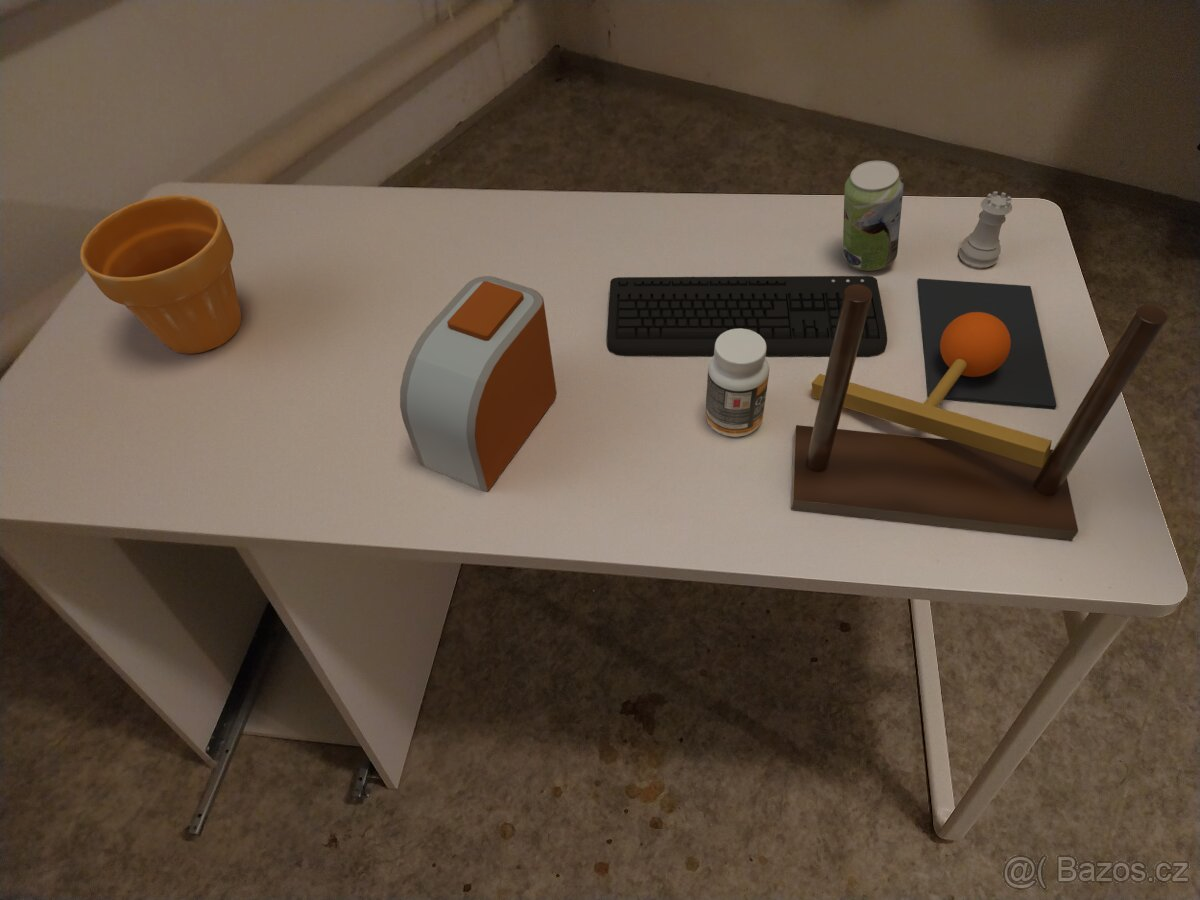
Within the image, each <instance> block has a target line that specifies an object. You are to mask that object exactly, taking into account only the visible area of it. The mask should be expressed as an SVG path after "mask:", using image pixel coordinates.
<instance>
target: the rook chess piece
mask: <svg viewBox="0 0 1200 900" xmlns="http://www.w3.org/2000/svg"><path fill="white" fill-rule="evenodd" d="M998 194H999V193H998V191H992V194H991V193H990V192H989V193H988V194H987V195H986V197H985V198H983V199H982V200H981V202H980V207H981V209H982V211H980V213H979V214H978V222H977V223H976V225H975V228H974V229H973V231H972V232H971V233H969V234H968V236H966V237H965V238H964V239H963V240H962V242H961V246H959V248H958V256H959V258H960V260H961V262H962V263H964V264H965V265H967V266H968V267H972V268H975V269H986V268H989V267H992V266H993V265H995V264H996V263H997V262H998V261H999V259H1000V255H1001V249H1002V247H1001V244H1000V242H1001V240H1000V233H1001V229H1002V226H1003V224H1004V223H1005V222H1006V218H1007V217H1006V215H1008V214H1010V213H1011V212H1012V211H1013V204H1012V197H1011V196H1010V195H1008V196H1007V193H1006V192H1004V191H1003V192H1001V194H1000V195H998Z"/></svg>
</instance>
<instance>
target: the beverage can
mask: <svg viewBox="0 0 1200 900" xmlns="http://www.w3.org/2000/svg"><path fill="white" fill-rule="evenodd" d="M904 185H905V184H904V179H903V177H902V176H901V174H900V171H899V169H898V167H897V166H896V165H895V164H894V163H892V162H889V161H885V160H879V159H878V160H868V161H865V162H862V163H860V164H858V165H856V166H855V167H854V168H853V169H852V170H851V172H850V175H849V177H848V178H847V179H846V181H845V184H844V193H843V195H844V196H843V226H842V229H843V230H842V231H843V232H842V235H843V236H842V258H843V260H844V262H845V263H846V264H847V265H848V266H849V267H852V268H854V269H856V270H860V271H865V272H866V271H867V272H869V271H877V270H878V271H879V270H881V269H885V268H886V267H888V266H890V265H891V264H892V263H893V262H894V261H895V260H896V258H897V256H898V248H899V240H900V239H899V238H900V229H901V218H902V208H903V206H902V205H903V199H904V187H905V186H904Z"/></svg>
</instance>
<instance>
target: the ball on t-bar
mask: <svg viewBox="0 0 1200 900" xmlns="http://www.w3.org/2000/svg"><path fill="white" fill-rule="evenodd" d="M1010 347H1011V339H1010V334H1009V332H1008V329H1007V328H1006V326H1005V325H1004V323H1003V322H1002V321H1001V320H999V319H998V318H997V317H995V316H993V315H991V314H988V313H983V312H971V313H967V314H963V315H961V316H959V317H957V318H956V319H954V320H953V321H952V322H951V323H950V324H949V325H948V326H947V327H946V329H945V330H944V332H943V334H942V337H941V342H940V351H941V355H942V358H943V360H944V362H945V363H946V364H947V366H948V367H949V370H948V371H947V372H946V374H945V375H944V377H943V378H942V379H941V381H940V382H939V383H938V385H937V386H936V387H935V389H934V390H933V391H932V393H931V394H930V396H929V397H928V396H927V398H926V399H925V401H924V402H920V401H917V400H912V399H909V398H905V397H902V396H898V395H895V394H892V393H890V392H889V393H888V392H886V391H881V390H878V389H874V388H871V387H867V386H865V385H860V384H857V383H853V382H851V381H850V382H849V386H848V390H847V394H846V397H845V401H844V405H843V408H846V409H849V410H852V411H855V412H858V413H862V414H865V415H868V416H871V417H875V418H878V419H881V420H884V421H887V422H891V423H894V424H897V425H901V426H904V427H907V428H911V429H913V430H916V431H920V432H924V433H927V434H930V435H933V436H936V437H939V438H941V439H947V440H952V441H955V442H959V443H962V444H965V445H968V446H972V447H975V448H978V449H981V450H985V451H988V452H991V453H994V454H997V455H1001V456H1004V457H1007V458H1010V459H1014V460H1017V461H1020V462H1023V463H1027V464H1030V465H1033V466H1036V467H1040V468H1042V467H1043V466H1044V464H1045V463H1046V461H1047V459H1048V458H1049V454H1050V449H1052V442H1053V441H1052V440H1051V439H1048V438H1045V437H1041V436H1039V435H1034V434H1032V433H1028V432H1024V431H1020V430H1017V429H1013V428H1010V427H1006V426H1003V425H999V424H996V423H992V422H989V421H985V420H982V419H978V418H975V417H973V416H968V415H964V414H961V413H958V412H954V411H950V410H947V409H944V408H940V407H939V406H940V405H941V403H942V401H943V400H945V399H944V397H945V396H946V395H947V393H948V392H949V390H950V389H951V388H952V386H953V385H954V383H955V382H956V381H957V379H958V378H959V377H960V375H963V376H968V377H979V376H984V375H987V374H990V373H991V372H993V371H995V370H996V369H998V368H999V367H1000V366H1001V365H1002V364H1003V363H1004V362H1005V360H1006V358H1007V357H1008V354H1009V351H1010ZM825 375H826V374H823V373H818V375H816V377H815V378H814V379H813V381H812V382H811V392H812V398H813V399H815V400H816V399H817V400H819V401H820V397H821V392H822V388H823V383H824V379H825Z"/></svg>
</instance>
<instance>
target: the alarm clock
mask: <svg viewBox="0 0 1200 900" xmlns="http://www.w3.org/2000/svg"><path fill="white" fill-rule="evenodd" d="M546 313H547V312H546V307H545V300H544V297H543V295H542V294H541V293H540V292H539V291H538V290H536V289H534V288H531V287H528V286H525V285H522V284H519V283H515V282H512V281H509V280H505V279H503V278H499V277H496V276H492V275H483V276H479V277H475V278H473V279H471V280H469V281H468V282H467V283H465V285H464V286H463V287H462V288H461V289H460V290H459V291H458V292H457V293H456V295H455V296H454V297H453V298H452V299H451V300H450V301H449V302H448V304H447V305H445V307H443V309H442V310H441V311H440V312H439V313H438V314H437V315H436V316H435V318H434V319H432V321H431V322H430V323H429V324H428V325H427V326H426V327H425V329H424V331H423V332H422V333H421V334H420V336H419V337H418V339H417V340H416V342H415V344H414V346H413V348H412V349H411V352H410V353H409V355H408V358H407V361H406V364H405V367H404V370H403V374H402V379H401V383H400V384H401V385H400V390H399V409H400V414H401V418H402V421H403V424H404V428H405V430H406V432H407V435H408V438H409V441H410V443H411V447H412V449H413V452H414V455H415V457H416V460H417V463H418V464H419V465H421V466H422V467H425V468H428V469H430V470H432V471H434V472H438V473H439V474H442V475H445V476H447V477H450V478H451V479H454V480H457V481H459V482H460V483H461V482H462V483H464V484H466V485H468V486H470V487H471V486H472V487H474V488H476V489H478V490H481V491H483V492H485V493H486V492H489V490H490V489H491V488H492V486H493V485H494V484H495V482H496V481H497V480H498V478H499V477H500V475H501V474H502V473H503V471H504V470H505V468H507V466H508V464H509V463H510V462H511V461H512V459H513V458H514V456H515V455H516V454H517V452H518V451H519V449H520V448H521V447H522V445H523V444H524V442H525V441H526V440H527V439H528V437H529V435H530V434H531V433H532V432H533V430H534V429H535V428H536V426H537V425H538V424H539V422H540V420H541V419H542V418H543V416H544V415H545V414H546V413H547V411H548V409H549V408H550V407H551V406H552V404H553V403H554V401H555V400H556V397H557V394H558V393H557V386H556V378H555V372H554V365H553V358H552V350H551V343H550V336H549V335H550V334H549V329H548V320H547V315H546Z"/></svg>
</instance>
